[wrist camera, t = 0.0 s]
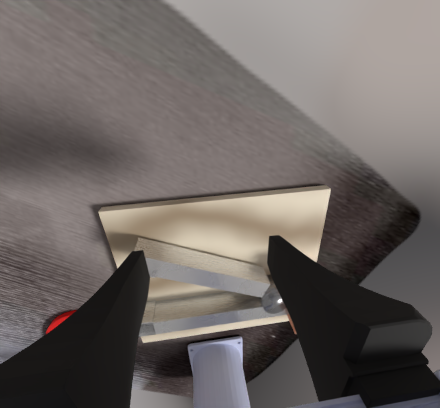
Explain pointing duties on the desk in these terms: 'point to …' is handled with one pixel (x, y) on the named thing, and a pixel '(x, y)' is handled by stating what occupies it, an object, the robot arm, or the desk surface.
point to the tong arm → (202, 269)
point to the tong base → (210, 310)
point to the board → (219, 235)
